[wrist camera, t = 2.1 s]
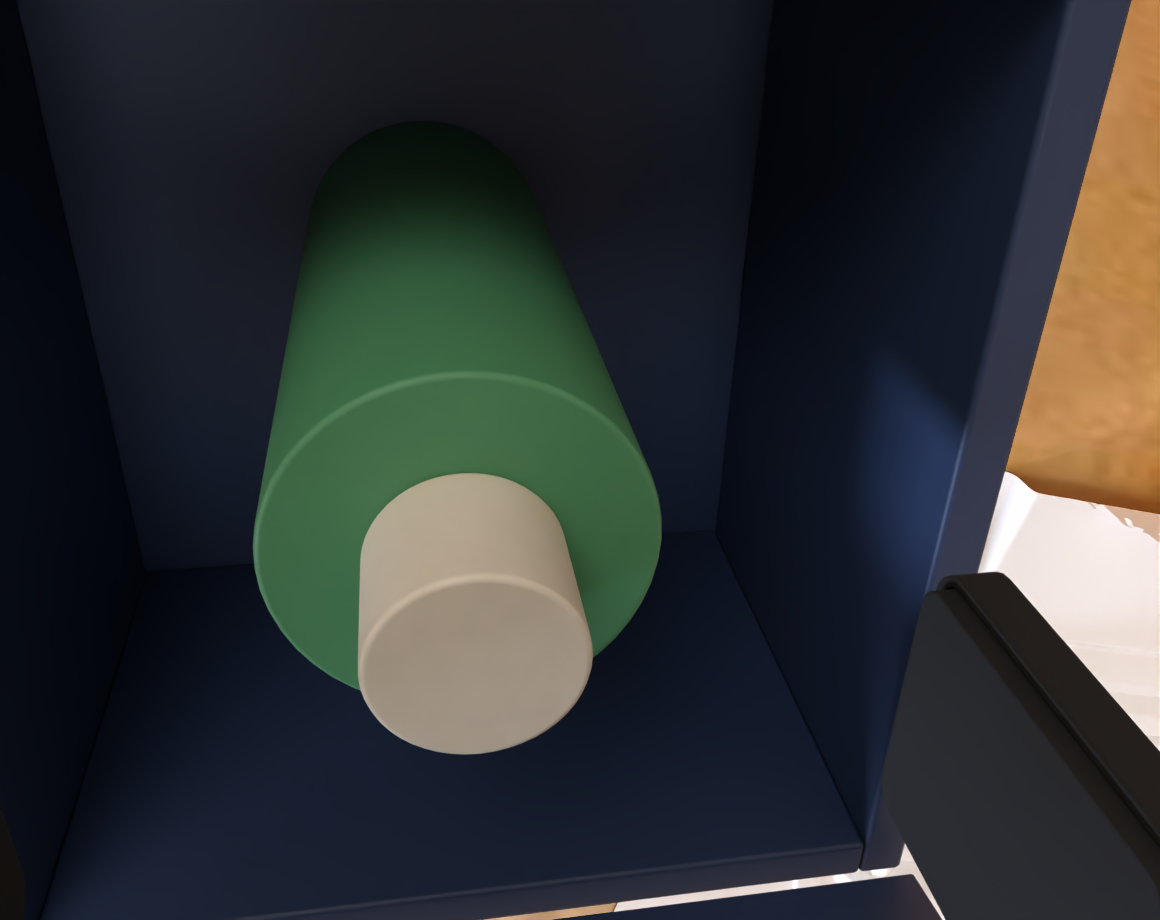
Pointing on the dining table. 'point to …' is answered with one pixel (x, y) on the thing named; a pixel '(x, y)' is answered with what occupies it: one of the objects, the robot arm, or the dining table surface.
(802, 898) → the navy door with handle
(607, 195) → the navy storage box
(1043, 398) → the dining table surface
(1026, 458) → the dining table surface
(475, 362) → the bottle
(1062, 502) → the tray
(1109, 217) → the dining table surface
